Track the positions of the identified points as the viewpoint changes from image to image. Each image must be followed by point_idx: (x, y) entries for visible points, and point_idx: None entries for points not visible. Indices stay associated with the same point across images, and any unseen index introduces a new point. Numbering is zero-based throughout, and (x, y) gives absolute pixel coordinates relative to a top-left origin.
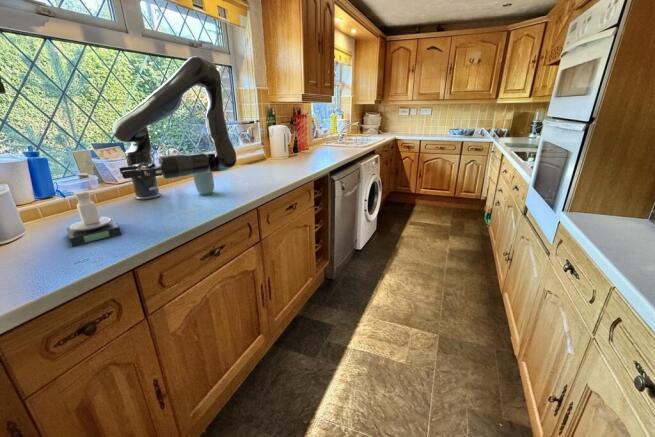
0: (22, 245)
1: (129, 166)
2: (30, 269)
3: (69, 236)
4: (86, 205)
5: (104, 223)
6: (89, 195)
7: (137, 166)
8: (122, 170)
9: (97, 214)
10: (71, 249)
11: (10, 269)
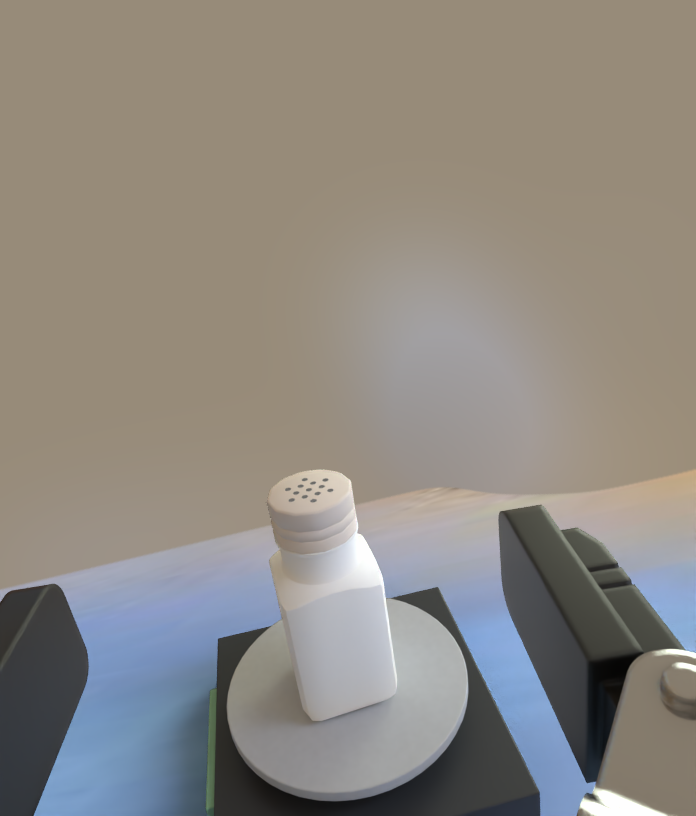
0: (404, 520)
1: (561, 611)
2: (88, 605)
3: (256, 630)
4: (273, 578)
5: (254, 758)
6: (307, 539)
7: (607, 781)
8: (509, 570)
9: (301, 678)
10: (189, 678)
11: (153, 559)
